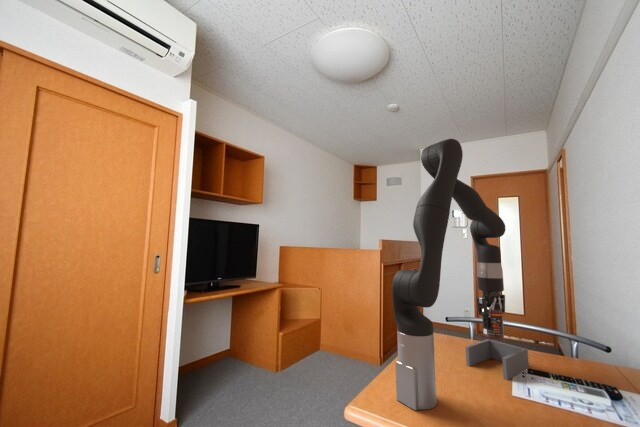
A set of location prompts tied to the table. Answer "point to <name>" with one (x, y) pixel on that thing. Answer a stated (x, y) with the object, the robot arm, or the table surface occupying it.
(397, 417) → the table surface
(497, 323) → the supplement bottle
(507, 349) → the grey u-shaped bracket
